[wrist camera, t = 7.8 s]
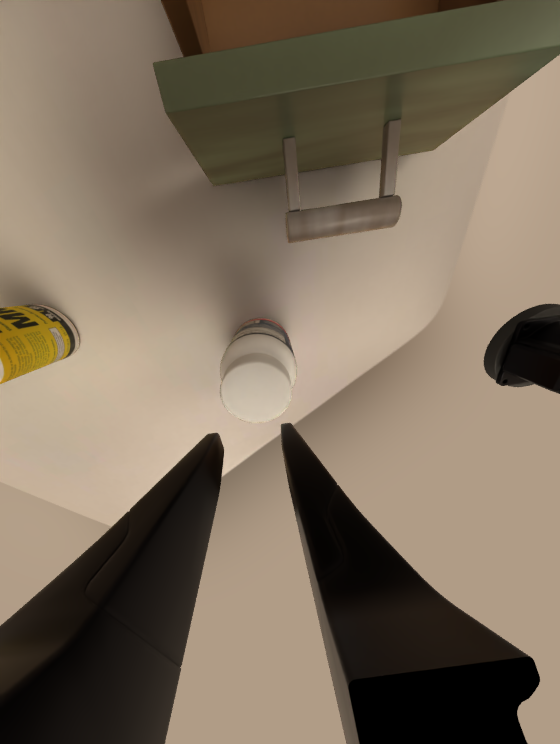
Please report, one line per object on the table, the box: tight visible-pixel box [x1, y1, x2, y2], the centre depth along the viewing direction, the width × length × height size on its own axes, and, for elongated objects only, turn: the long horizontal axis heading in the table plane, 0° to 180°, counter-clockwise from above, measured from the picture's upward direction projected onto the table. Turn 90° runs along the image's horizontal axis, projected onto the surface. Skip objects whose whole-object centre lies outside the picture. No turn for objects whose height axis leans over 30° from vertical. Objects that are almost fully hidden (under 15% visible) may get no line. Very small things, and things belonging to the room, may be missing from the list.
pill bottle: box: [220, 318, 297, 423], centre depth 15 cm, size 5×5×9 cm
